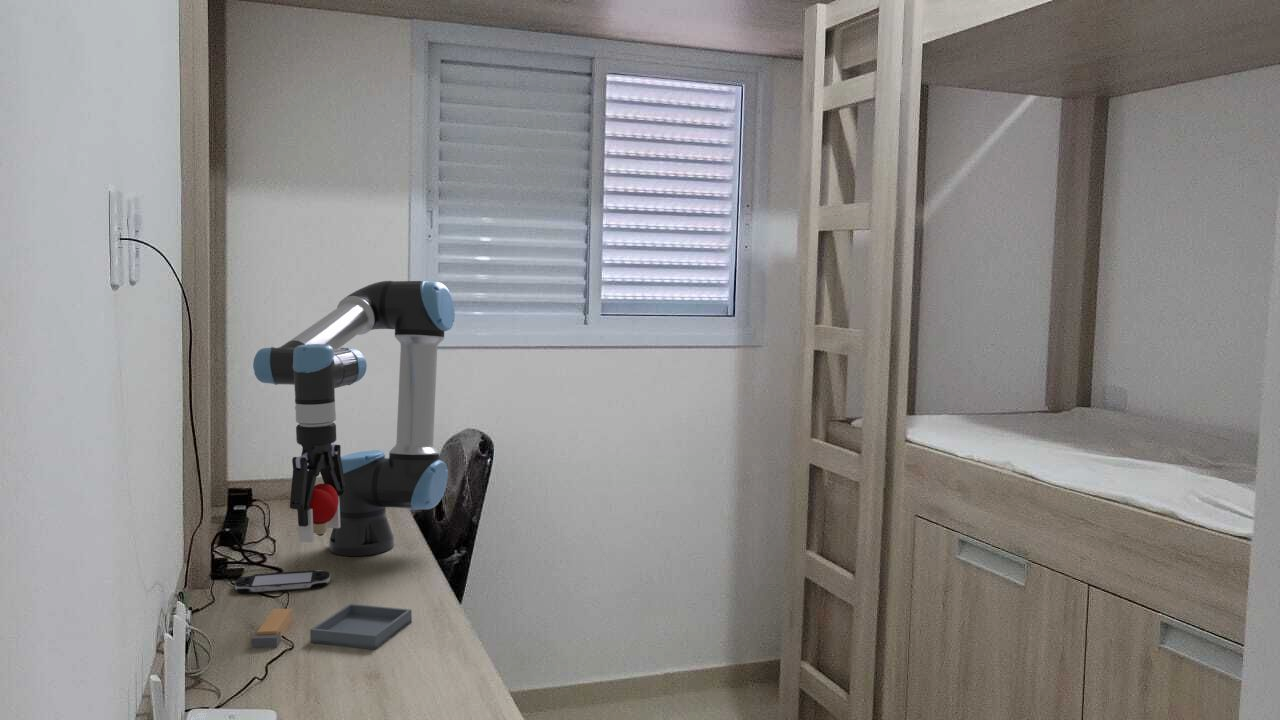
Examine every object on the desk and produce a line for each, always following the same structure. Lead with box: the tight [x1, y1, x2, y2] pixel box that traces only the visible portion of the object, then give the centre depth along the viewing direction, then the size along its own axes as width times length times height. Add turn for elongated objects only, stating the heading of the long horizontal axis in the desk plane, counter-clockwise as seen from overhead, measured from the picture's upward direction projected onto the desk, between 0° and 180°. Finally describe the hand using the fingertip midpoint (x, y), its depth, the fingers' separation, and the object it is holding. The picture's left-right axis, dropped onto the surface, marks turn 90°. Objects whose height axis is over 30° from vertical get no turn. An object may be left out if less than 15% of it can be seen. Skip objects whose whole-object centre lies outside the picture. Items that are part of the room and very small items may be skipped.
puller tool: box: [251, 608, 293, 649], centre depth 194 cm, size 14×4×2 cm, turn 6°
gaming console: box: [234, 569, 331, 595], centre depth 222 cm, size 19×9×2 cm, turn 104°
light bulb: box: [309, 483, 339, 537], centre depth 205 cm, size 9×7×10 cm
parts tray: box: [309, 603, 413, 650], centre depth 195 cm, size 14×13×2 cm
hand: (320, 534), depth 206 cm, fingers closed on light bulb, 9 cm apart
